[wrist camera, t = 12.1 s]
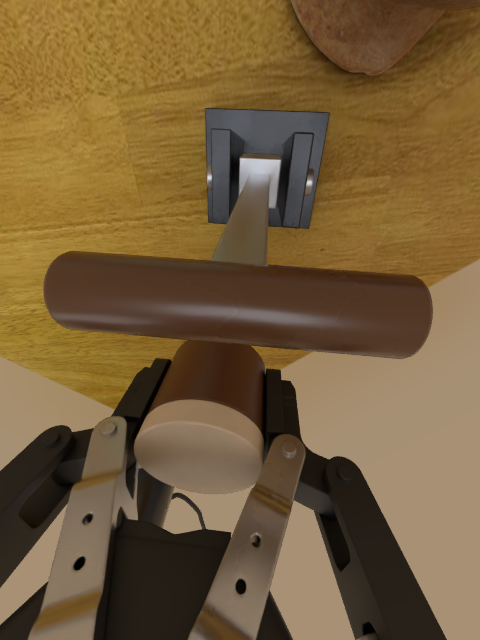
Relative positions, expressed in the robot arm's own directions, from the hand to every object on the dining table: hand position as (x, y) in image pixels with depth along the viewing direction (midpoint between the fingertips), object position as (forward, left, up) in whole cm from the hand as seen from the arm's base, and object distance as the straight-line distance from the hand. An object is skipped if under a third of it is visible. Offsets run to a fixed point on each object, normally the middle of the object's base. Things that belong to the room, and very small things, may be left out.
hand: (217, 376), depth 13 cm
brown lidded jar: (0, 0, 0) cm, 0 cm away
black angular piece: (+9, -1, -15) cm, 18 cm away
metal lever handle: (+7, -1, -1) cm, 7 cm away
